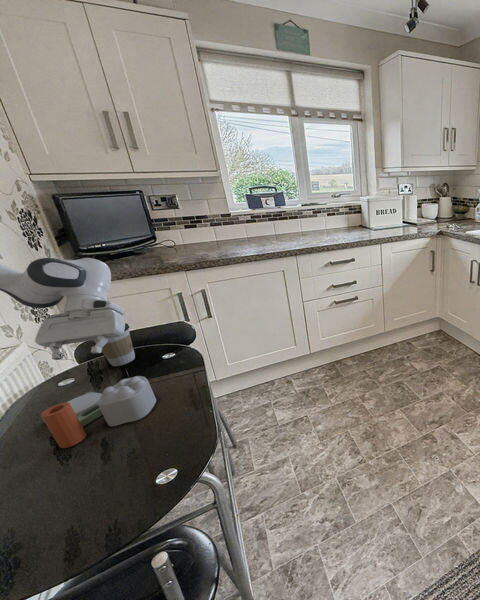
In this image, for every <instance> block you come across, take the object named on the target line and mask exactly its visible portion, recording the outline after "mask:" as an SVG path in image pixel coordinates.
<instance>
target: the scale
mask: <svg viewBox="0 0 480 600" xmlns="http://www.w3.org/2000/svg"><path fill="white" fill-rule="evenodd" d="M102 395H103V392H102V393H101V392H94V391H88V392H86V393H84V394H82V395H79V396H77V397H75V398H73V399H69V400H68V401H67V403H70V405H71V407H72V409H73V410H74V412H75V414H76V416H77V418H78V420H79V421H80V423H81V425H82V427H83V428H84V427H85V426H87V425H88V424H90V423H92V422H93V421H95V420H96V419H98V418H100V417H101V416H103V414H102V412H101V410H100V408H99V406H98V404H97V402H98V400H99V399H100V397H101V396H102ZM41 419H42V421H43V422H44V420H43V418H42V417H41Z"/></svg>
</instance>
